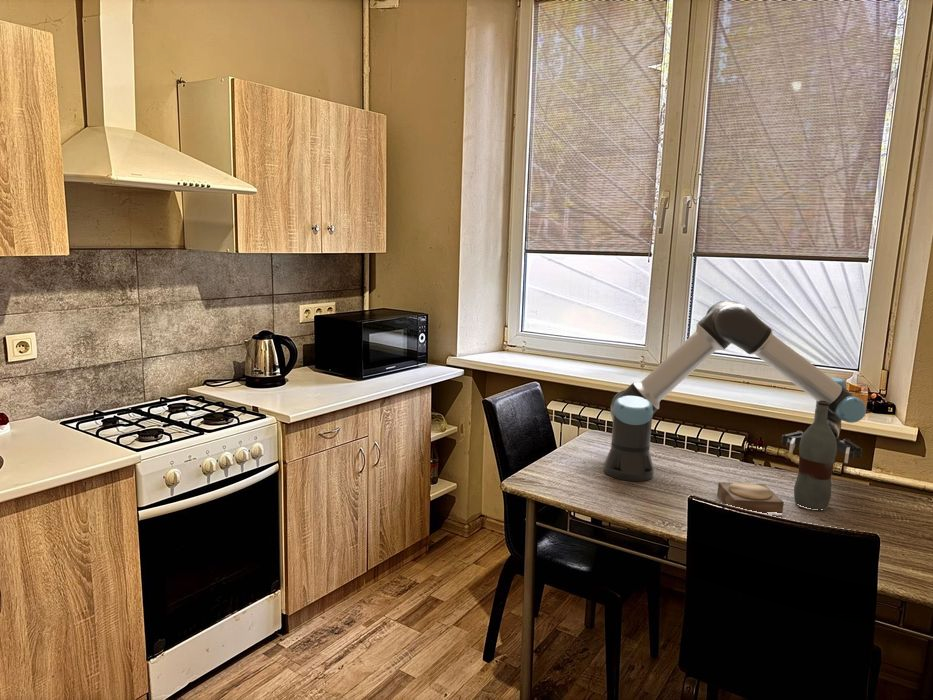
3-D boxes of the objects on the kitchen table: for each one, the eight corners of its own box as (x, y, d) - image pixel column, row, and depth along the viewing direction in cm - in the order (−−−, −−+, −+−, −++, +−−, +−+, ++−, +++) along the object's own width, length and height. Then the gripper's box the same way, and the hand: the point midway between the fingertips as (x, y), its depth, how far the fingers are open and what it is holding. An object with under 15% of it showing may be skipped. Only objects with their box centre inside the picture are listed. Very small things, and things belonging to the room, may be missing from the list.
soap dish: (717, 495, 191) (718, 480, 190) (762, 497, 190) (764, 482, 190) (733, 514, 178) (735, 497, 177) (782, 516, 178) (784, 500, 177)
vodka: (804, 511, 181) (817, 405, 176) (785, 498, 190) (797, 397, 185) (836, 511, 181) (850, 405, 177) (816, 498, 190) (829, 397, 186)
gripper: (870, 454, 193) (869, 476, 175) (777, 438, 206) (767, 457, 188) (874, 430, 192) (873, 449, 174) (780, 415, 205) (770, 431, 187)
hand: (818, 453), depth 181 cm, fingers open, 13 cm apart
